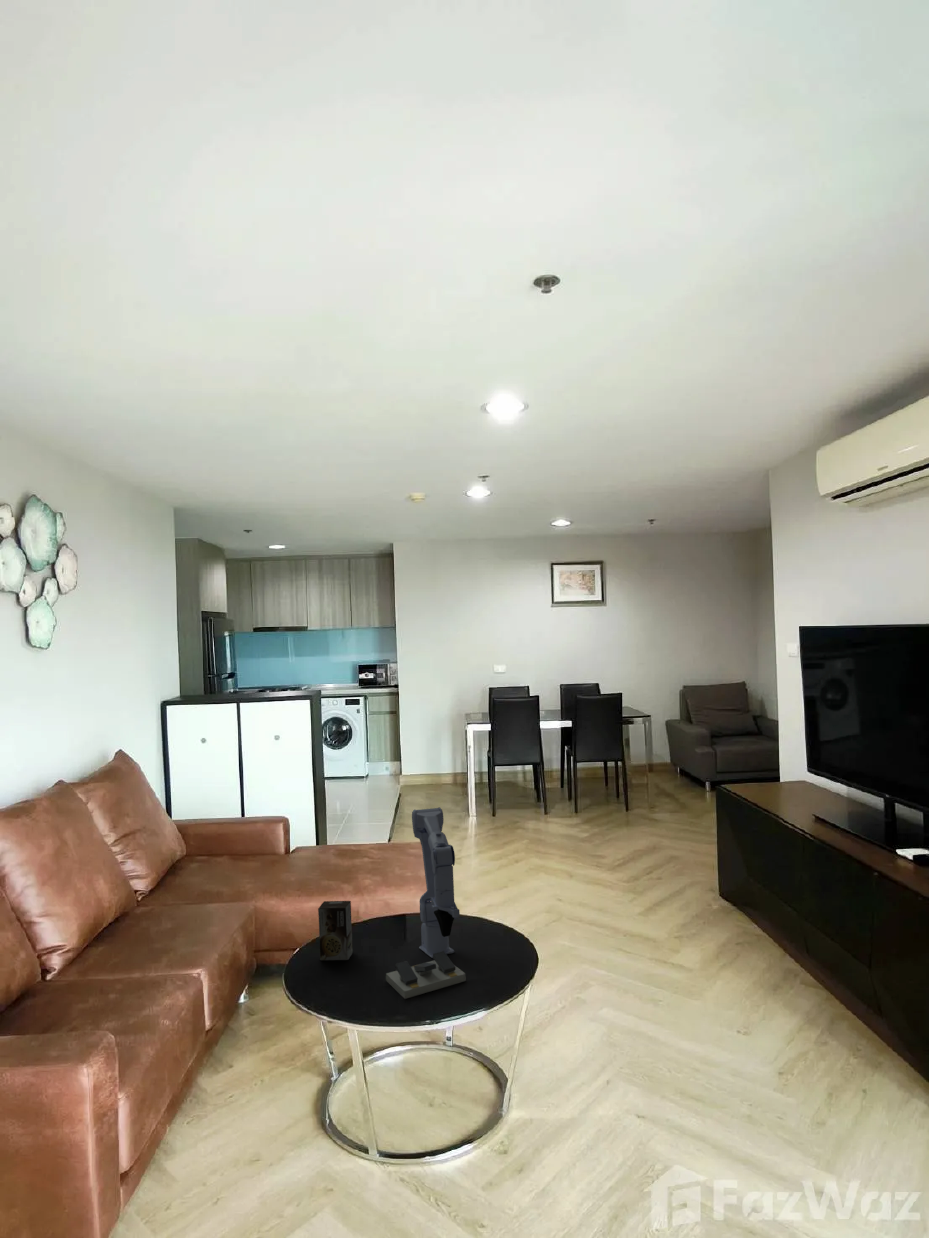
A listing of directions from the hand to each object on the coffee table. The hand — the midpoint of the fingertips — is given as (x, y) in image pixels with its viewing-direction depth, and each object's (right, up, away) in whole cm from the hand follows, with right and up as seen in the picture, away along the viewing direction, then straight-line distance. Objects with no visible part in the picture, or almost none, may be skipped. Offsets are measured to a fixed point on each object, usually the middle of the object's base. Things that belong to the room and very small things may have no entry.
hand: (446, 935), depth 208 cm
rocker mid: (-6, -7, -6) cm, 11 cm away
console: (-6, -10, -6) cm, 13 cm away
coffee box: (-35, -13, +13) cm, 39 cm away
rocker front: (-11, -7, -9) cm, 16 cm away
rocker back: (-1, -7, -3) cm, 7 cm away
